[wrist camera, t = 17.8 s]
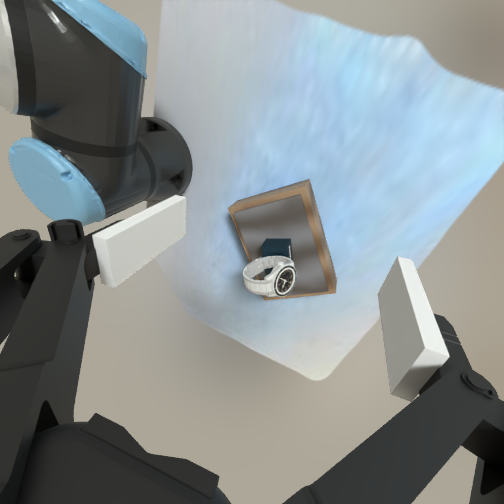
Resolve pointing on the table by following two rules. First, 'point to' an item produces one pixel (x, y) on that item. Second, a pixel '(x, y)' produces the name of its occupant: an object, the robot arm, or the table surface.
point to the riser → (288, 235)
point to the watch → (272, 269)
